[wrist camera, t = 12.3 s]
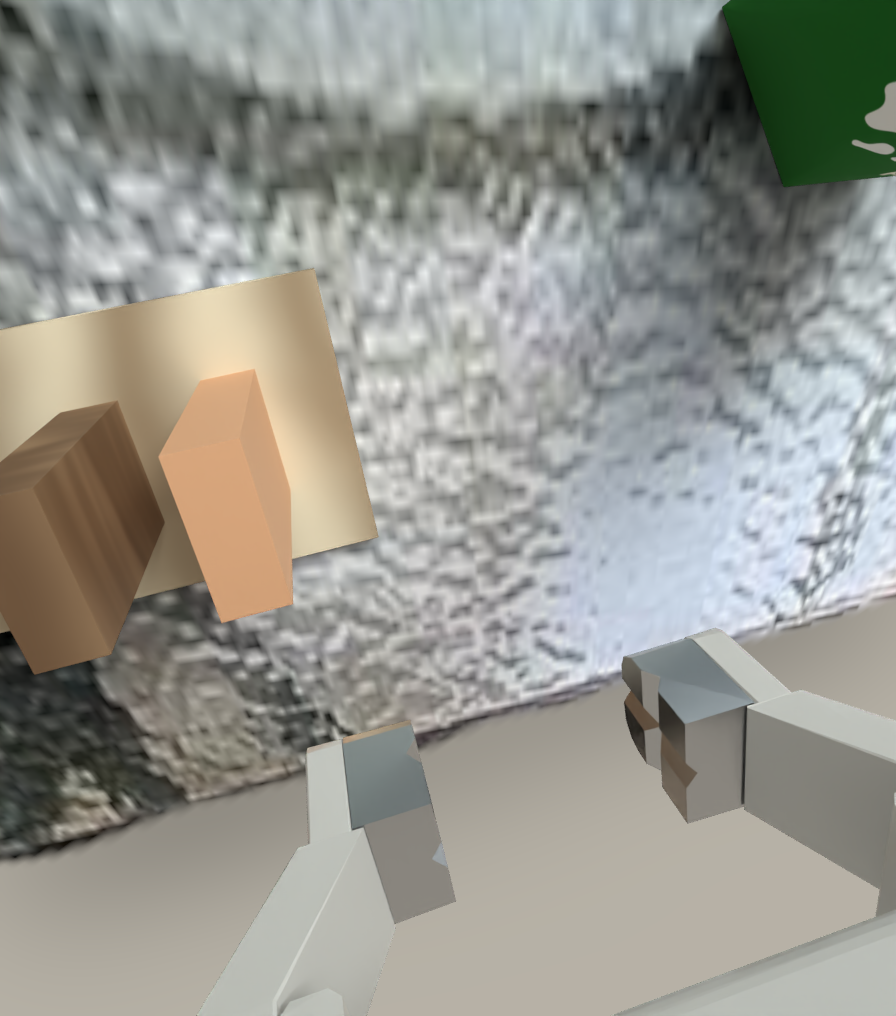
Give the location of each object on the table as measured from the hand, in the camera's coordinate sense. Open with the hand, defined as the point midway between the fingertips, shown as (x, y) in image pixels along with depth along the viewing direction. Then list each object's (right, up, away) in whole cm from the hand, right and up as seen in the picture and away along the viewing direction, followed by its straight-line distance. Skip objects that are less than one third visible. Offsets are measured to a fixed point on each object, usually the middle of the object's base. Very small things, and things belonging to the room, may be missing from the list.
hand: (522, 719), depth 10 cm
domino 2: (-9, +6, +16) cm, 19 cm away
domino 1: (-14, +5, +15) cm, 21 cm away
